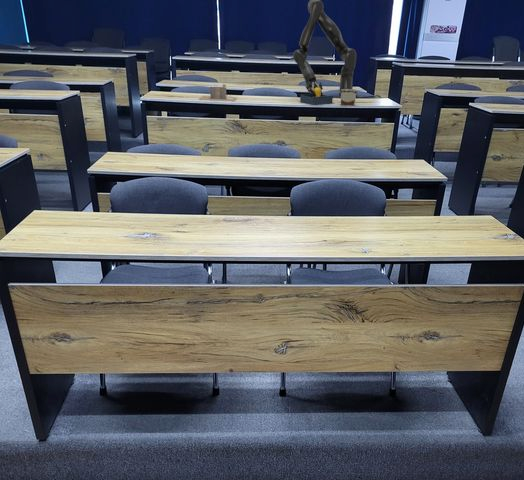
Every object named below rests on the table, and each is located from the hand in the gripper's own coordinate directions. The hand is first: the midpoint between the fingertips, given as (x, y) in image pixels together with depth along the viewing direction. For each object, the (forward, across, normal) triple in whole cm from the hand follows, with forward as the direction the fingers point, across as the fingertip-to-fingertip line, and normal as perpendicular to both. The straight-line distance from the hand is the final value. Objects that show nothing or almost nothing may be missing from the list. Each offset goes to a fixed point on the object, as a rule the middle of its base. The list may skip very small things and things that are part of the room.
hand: (318, 95), depth 376 cm
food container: (+15, +14, -8) cm, 22 cm away
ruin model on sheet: (-31, -55, +38) cm, 74 cm away
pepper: (+2, 0, +4) cm, 5 cm away
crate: (+2, 0, +4) cm, 5 cm away
